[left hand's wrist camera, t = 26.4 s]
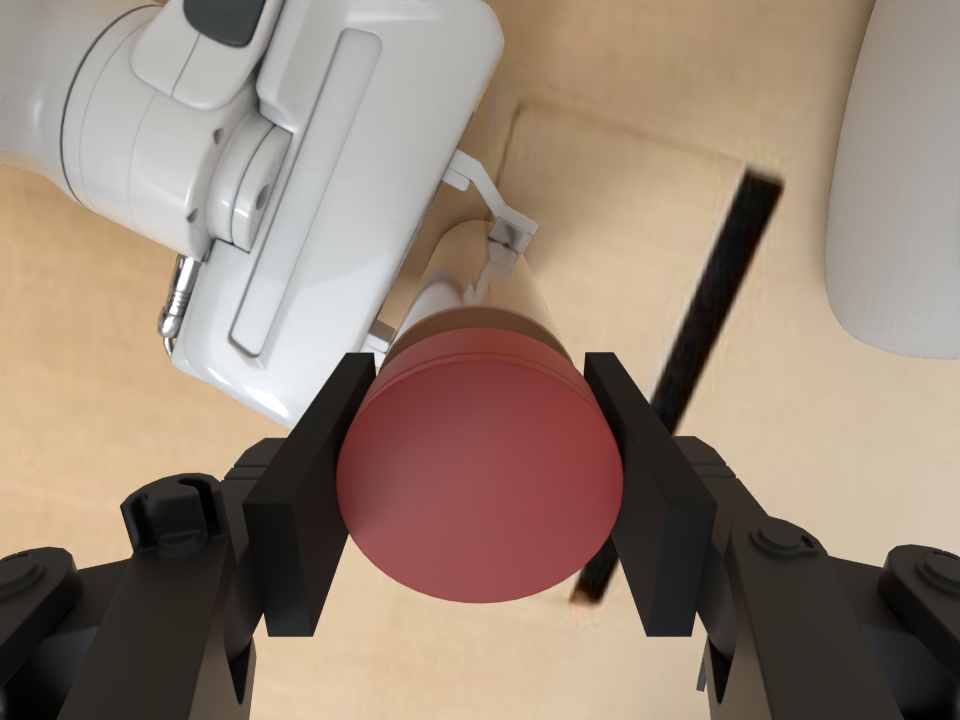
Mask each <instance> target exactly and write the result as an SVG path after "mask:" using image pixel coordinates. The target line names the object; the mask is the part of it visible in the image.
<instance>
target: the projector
mask: <svg viewBox="0 0 960 720" xmlns="http://www.w3.org/2000/svg"><path fill="white" fill-rule="evenodd" d="M825 280H826V289H827V294H828V298H829V302H830V306H831V308H832V310H833V313H834V315H835V317H836V318H837V320H838V322H839V323H840V324H841V325H842V326H843V327H844V329H845V330H846V331H847V332H848V333H850V334H851V335H852V336H854V337H855V338H857V339H858V340H860V341H862V342H864V343H866V344H868V345H870V346H873V347H876V348H879V349H881V350H884V351H888V352H892V353H895V354H899V355H904V356H910V357H917V358H927V359H960V0H876V2H875V5H874V8H873V11H872V14H871V17H870V20H869V23H868V26H867V29H866V33H865V36H864V40H863V43H862V47H861V50H860V54H859V57H858V60H857V64H856V68H855V72H854V76H853V80H852V84H851V87H850V91H849V96H848V100H847V105H846V109H845V114H844V119H843V123H842V128H841V132H840V138H839V144H838V149H837V155H836V160H835V166H834V172H833V180H832V187H831V194H830V201H829V210H828V219H827V229H826V244H825Z"/></svg>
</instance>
